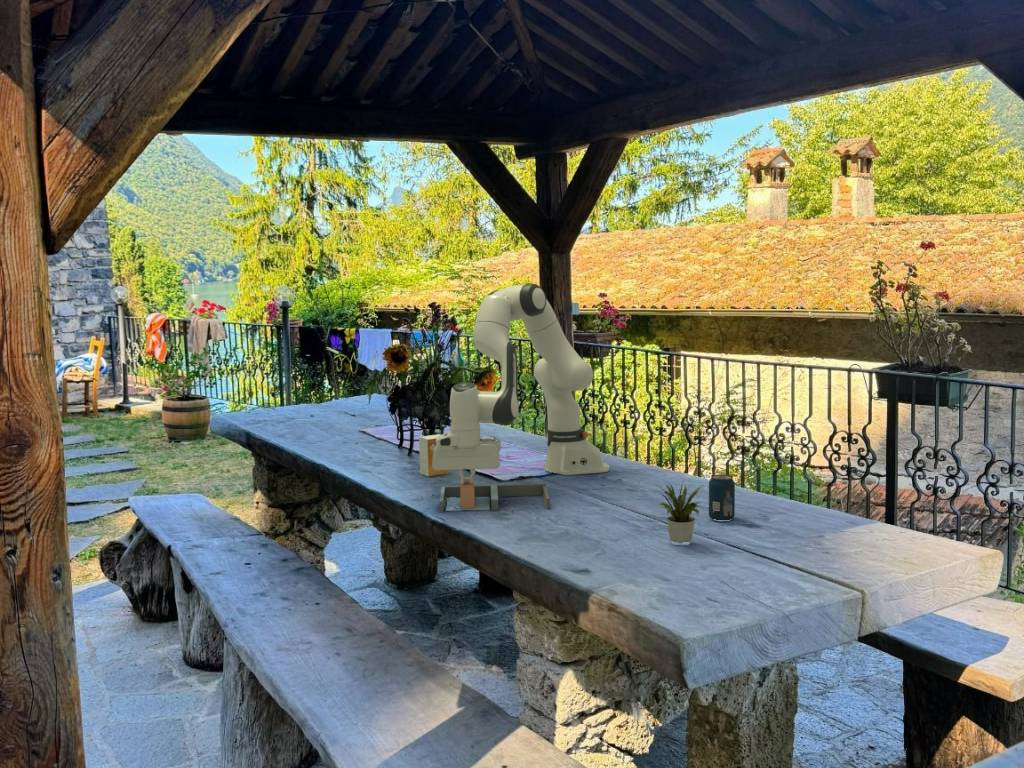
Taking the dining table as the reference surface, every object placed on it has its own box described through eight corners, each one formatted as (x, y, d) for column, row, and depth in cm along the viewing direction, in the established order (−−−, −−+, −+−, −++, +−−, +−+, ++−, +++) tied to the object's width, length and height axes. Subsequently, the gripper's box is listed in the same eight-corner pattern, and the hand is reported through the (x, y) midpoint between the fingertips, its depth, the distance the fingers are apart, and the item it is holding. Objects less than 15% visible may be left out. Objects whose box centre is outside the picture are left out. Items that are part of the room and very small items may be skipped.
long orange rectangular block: (474, 498, 283) (474, 478, 282) (474, 508, 271) (473, 488, 270) (461, 498, 283) (460, 479, 282) (460, 508, 271) (460, 488, 270)
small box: (428, 477, 314) (427, 439, 313) (419, 473, 319) (418, 436, 318) (449, 473, 319) (448, 436, 317) (440, 470, 324) (439, 433, 322)
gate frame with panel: (545, 494, 286) (545, 483, 286) (549, 508, 270) (549, 496, 269) (442, 497, 285) (441, 486, 285) (439, 512, 269) (439, 500, 268)
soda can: (715, 514, 259) (716, 472, 258) (738, 518, 255) (739, 475, 253) (704, 520, 254) (704, 477, 252) (727, 524, 249) (727, 480, 248)
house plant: (641, 548, 230) (641, 484, 228) (653, 533, 243) (653, 472, 241) (699, 553, 225) (699, 488, 223) (708, 537, 238) (708, 475, 236)
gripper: (500, 435, 278) (501, 480, 279) (432, 437, 277) (433, 482, 279) (500, 438, 271) (502, 485, 273) (431, 441, 271) (432, 487, 273)
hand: (467, 483), depth 276 cm, fingers closed, pressing on long orange rectangular block
